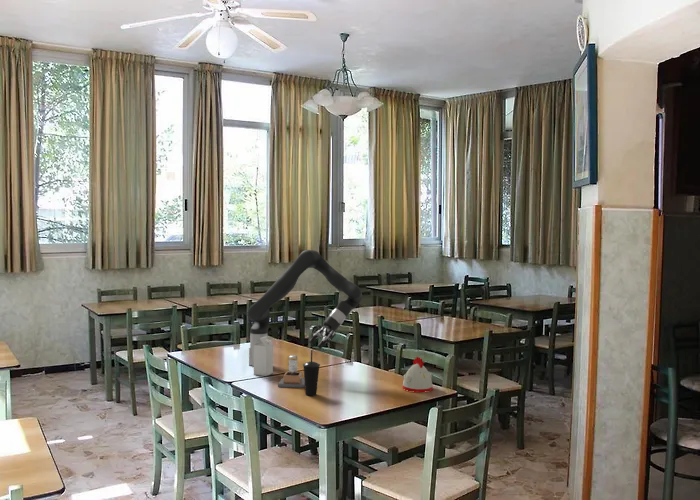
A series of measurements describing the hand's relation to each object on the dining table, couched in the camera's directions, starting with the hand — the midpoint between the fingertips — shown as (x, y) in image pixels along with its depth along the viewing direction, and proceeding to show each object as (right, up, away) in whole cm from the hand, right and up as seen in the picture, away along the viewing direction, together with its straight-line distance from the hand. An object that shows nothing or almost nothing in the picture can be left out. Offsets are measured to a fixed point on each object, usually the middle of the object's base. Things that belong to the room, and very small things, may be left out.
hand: (314, 345), depth 305 cm
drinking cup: (0, -18, -24) cm, 30 cm away
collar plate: (-10, -17, -7) cm, 21 cm away
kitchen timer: (+49, -19, -10) cm, 54 cm away
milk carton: (-27, -17, +13) cm, 34 cm away
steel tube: (-10, -16, -6) cm, 20 cm away
